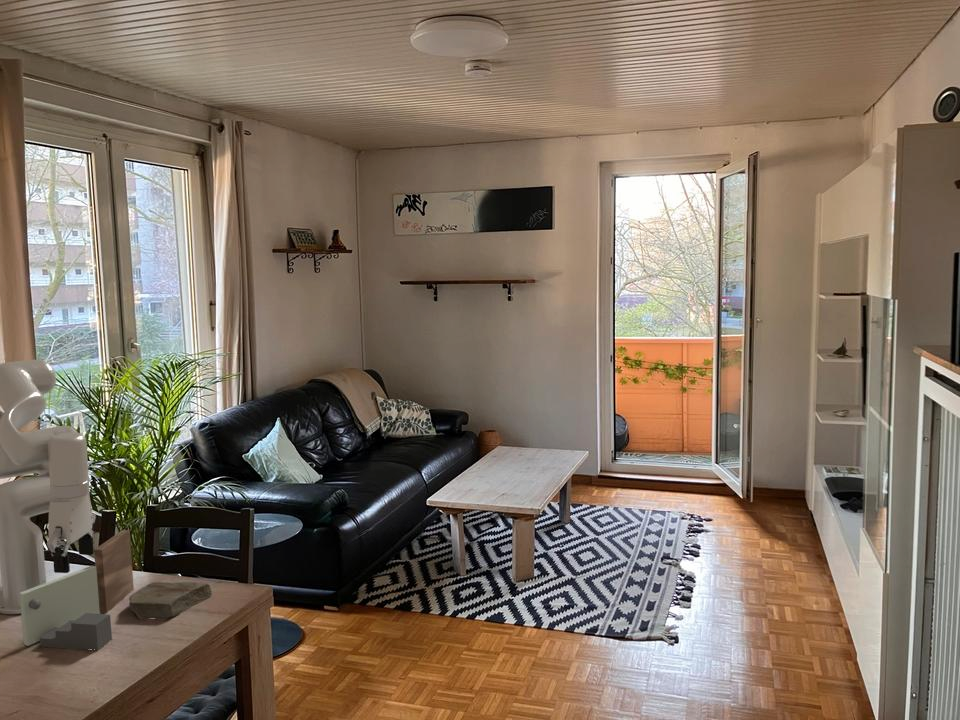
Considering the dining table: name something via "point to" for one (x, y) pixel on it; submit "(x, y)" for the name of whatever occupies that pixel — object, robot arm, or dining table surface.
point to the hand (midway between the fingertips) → (74, 563)
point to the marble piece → (168, 598)
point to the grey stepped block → (80, 633)
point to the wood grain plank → (114, 570)
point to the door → (58, 603)
